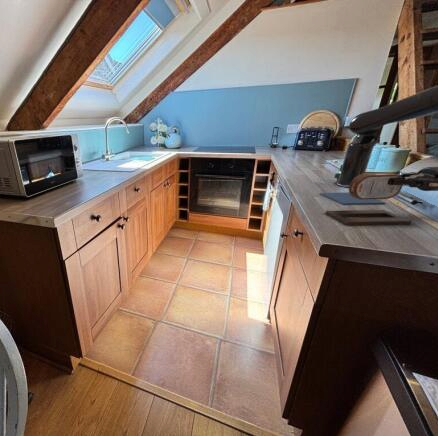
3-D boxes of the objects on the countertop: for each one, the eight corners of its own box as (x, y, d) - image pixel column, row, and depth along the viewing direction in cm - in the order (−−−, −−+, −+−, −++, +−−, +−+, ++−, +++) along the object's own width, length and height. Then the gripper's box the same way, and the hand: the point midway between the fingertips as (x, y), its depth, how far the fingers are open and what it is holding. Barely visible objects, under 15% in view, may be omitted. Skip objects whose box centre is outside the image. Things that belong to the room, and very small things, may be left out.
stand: (325, 213, 87) (326, 210, 86) (382, 213, 86) (383, 209, 86) (346, 225, 78) (347, 221, 77) (410, 224, 77) (411, 221, 77)
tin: (391, 196, 80) (399, 171, 78) (400, 199, 78) (409, 172, 75) (345, 198, 81) (351, 173, 78) (352, 200, 78) (359, 174, 75)
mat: (320, 194, 108) (320, 193, 108) (356, 193, 108) (356, 192, 108) (343, 204, 95) (343, 203, 95) (384, 203, 95) (384, 202, 95)
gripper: (423, 162, 81) (370, 164, 82) (473, 171, 69) (411, 173, 69) (414, 184, 84) (363, 185, 85) (461, 197, 72) (401, 198, 72)
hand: (385, 180), depth 77 cm, fingers closed on tin, 2 cm apart
